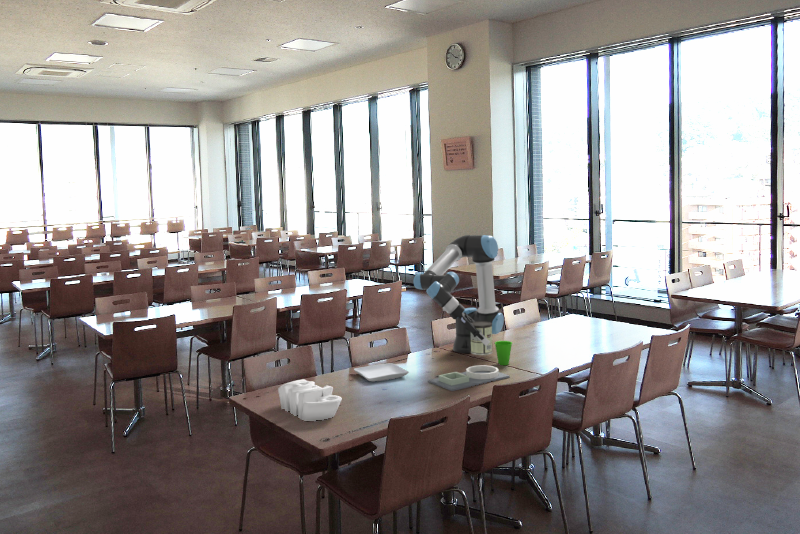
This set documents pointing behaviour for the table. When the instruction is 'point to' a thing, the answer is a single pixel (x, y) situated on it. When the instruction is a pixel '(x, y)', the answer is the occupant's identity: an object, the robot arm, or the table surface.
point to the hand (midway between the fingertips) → (488, 341)
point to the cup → (503, 351)
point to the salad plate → (381, 372)
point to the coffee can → (476, 344)
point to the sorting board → (469, 377)
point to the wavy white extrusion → (308, 400)
